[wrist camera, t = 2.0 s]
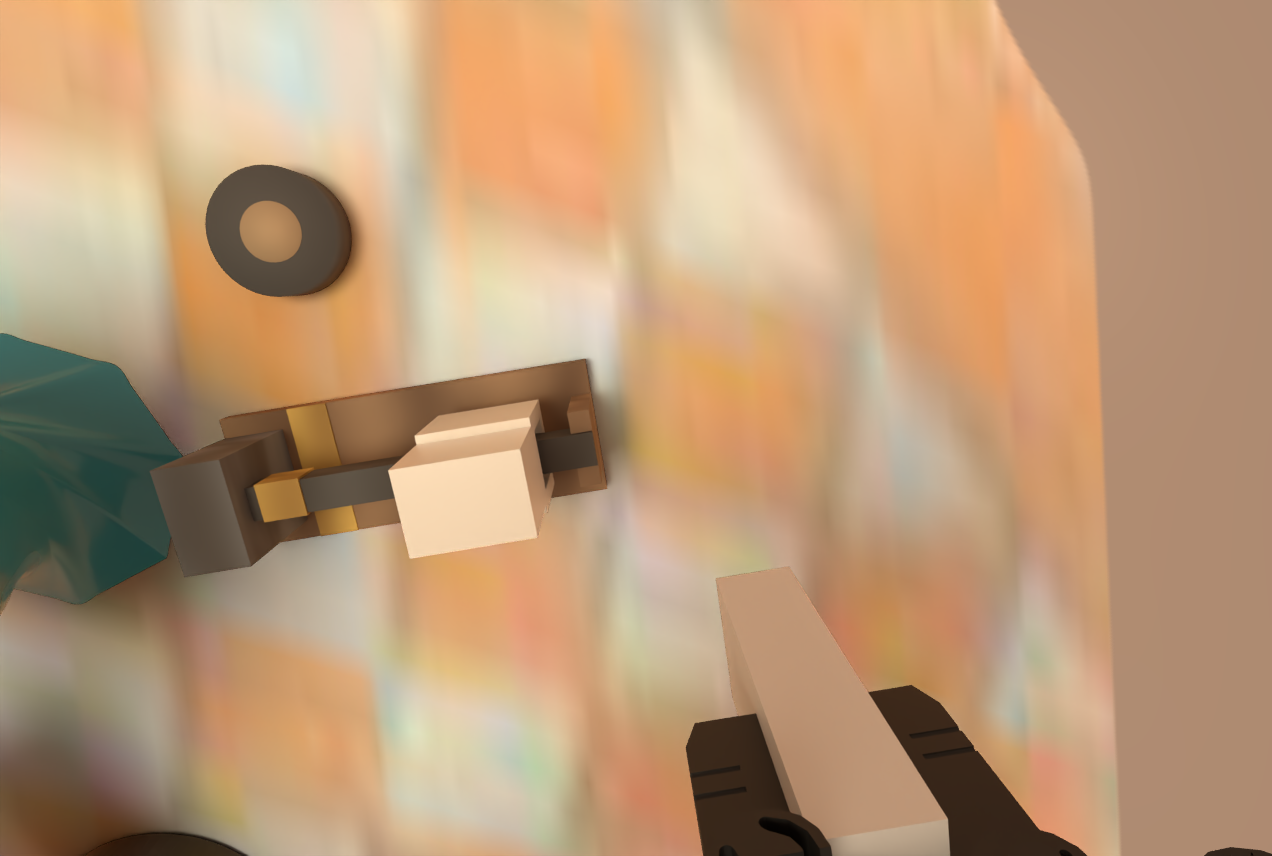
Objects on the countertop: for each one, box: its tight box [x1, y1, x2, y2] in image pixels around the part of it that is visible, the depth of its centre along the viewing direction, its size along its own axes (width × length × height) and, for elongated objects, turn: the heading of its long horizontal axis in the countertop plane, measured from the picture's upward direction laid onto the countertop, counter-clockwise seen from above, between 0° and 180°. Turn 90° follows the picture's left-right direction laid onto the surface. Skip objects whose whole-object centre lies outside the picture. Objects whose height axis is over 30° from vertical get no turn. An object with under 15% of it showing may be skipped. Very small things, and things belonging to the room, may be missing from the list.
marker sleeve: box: [388, 400, 554, 559], centre depth 30 cm, size 5×4×8 cm
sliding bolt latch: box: [150, 359, 607, 577], centre depth 33 cm, size 19×7×7 cm, turn 99°
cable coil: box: [206, 165, 351, 297], centre depth 33 cm, size 6×6×2 cm
